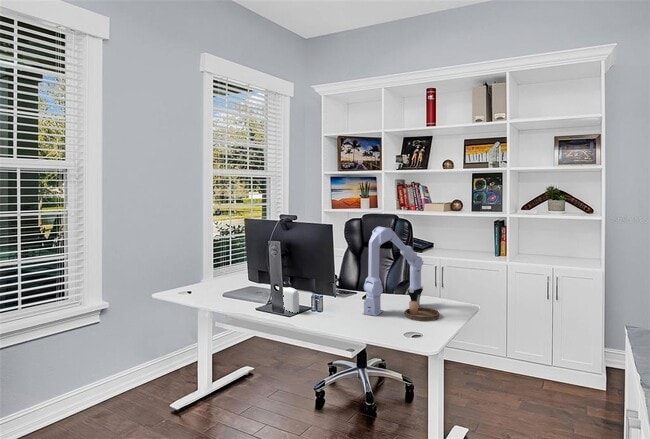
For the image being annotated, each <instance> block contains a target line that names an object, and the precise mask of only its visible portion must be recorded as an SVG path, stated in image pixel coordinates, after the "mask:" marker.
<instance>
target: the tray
mask: <svg viewBox="0 0 650 439" xmlns="http://www.w3.org/2000/svg"><path fill="white" fill-rule="evenodd" d="M404 316H405V318H406V319H408V320H411V321H412V320H413V321H418V322H419V321H420V322H431V321H436V320H439V318H440V312H439V310H438V309H434V308H430V307H424V306H423V307H422V306H421V307H418V315H410V312H409V308H406V310H404Z"/></svg>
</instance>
